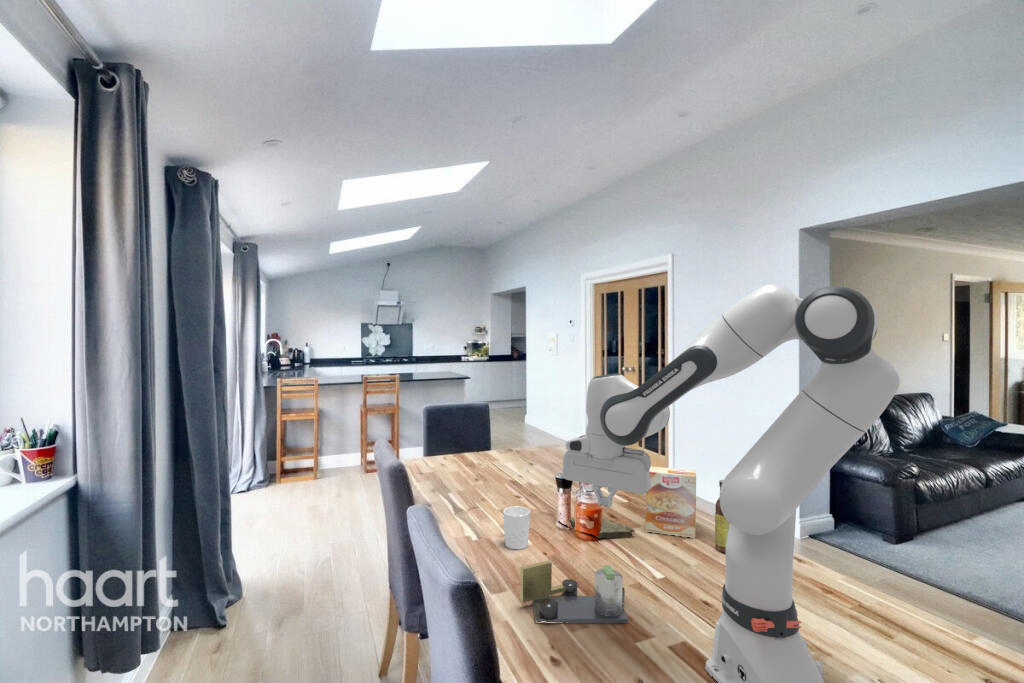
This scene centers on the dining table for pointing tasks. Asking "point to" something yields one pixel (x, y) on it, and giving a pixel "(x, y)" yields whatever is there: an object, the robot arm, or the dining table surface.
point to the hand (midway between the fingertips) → (604, 505)
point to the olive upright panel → (542, 582)
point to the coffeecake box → (671, 502)
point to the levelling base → (587, 603)
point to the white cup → (516, 527)
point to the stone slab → (611, 529)
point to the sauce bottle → (720, 527)
